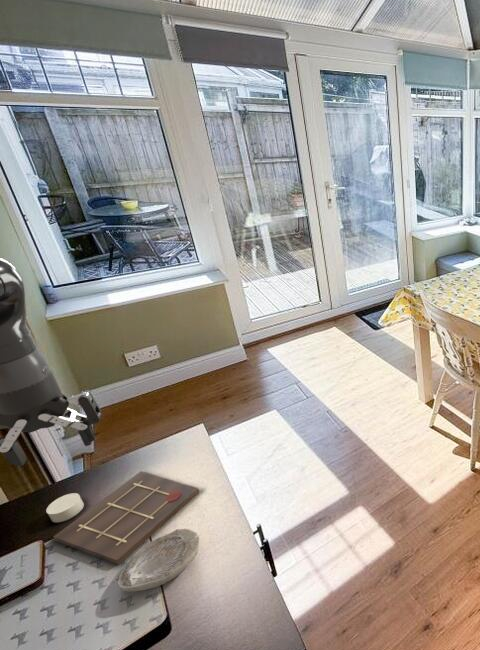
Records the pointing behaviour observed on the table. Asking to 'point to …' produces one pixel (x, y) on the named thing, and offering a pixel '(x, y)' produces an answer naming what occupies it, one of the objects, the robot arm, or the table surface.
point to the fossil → (159, 560)
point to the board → (127, 517)
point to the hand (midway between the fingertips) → (56, 452)
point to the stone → (65, 507)
